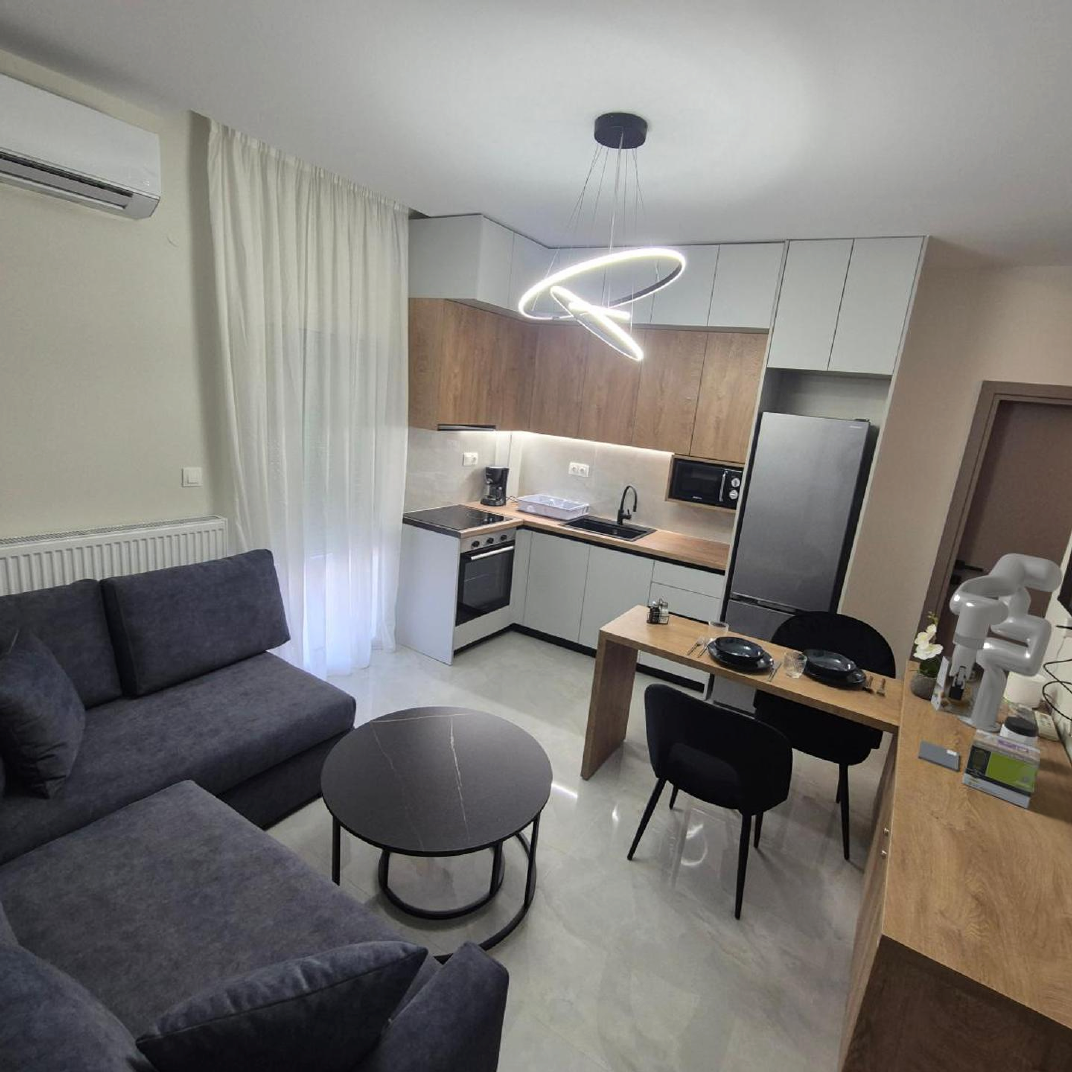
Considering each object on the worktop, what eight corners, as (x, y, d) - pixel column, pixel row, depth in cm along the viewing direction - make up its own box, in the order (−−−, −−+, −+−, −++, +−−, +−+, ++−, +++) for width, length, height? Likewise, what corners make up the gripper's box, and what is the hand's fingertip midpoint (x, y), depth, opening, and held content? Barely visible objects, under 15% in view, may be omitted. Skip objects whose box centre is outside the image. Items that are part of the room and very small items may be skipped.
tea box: (1029, 794, 164) (1043, 748, 161) (1027, 810, 157) (1041, 762, 153) (965, 770, 174) (977, 726, 171) (960, 783, 166) (973, 738, 163)
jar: (1032, 759, 183) (1043, 725, 180) (1027, 767, 178) (1037, 733, 175) (998, 745, 190) (1007, 713, 187) (992, 753, 184) (1001, 719, 182)
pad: (921, 742, 187) (921, 740, 187) (958, 755, 182) (958, 752, 181) (918, 757, 178) (918, 755, 178) (957, 771, 172) (957, 769, 172)
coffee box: (936, 711, 175) (949, 663, 171) (930, 702, 181) (942, 655, 177) (972, 718, 172) (985, 669, 169) (964, 709, 178) (976, 661, 175)
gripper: (954, 630, 181) (941, 681, 184) (952, 644, 167) (938, 699, 171) (984, 637, 176) (970, 689, 180) (984, 652, 163) (969, 709, 166)
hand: (954, 694), depth 175 cm, fingers closed on coffee box, 7 cm apart
